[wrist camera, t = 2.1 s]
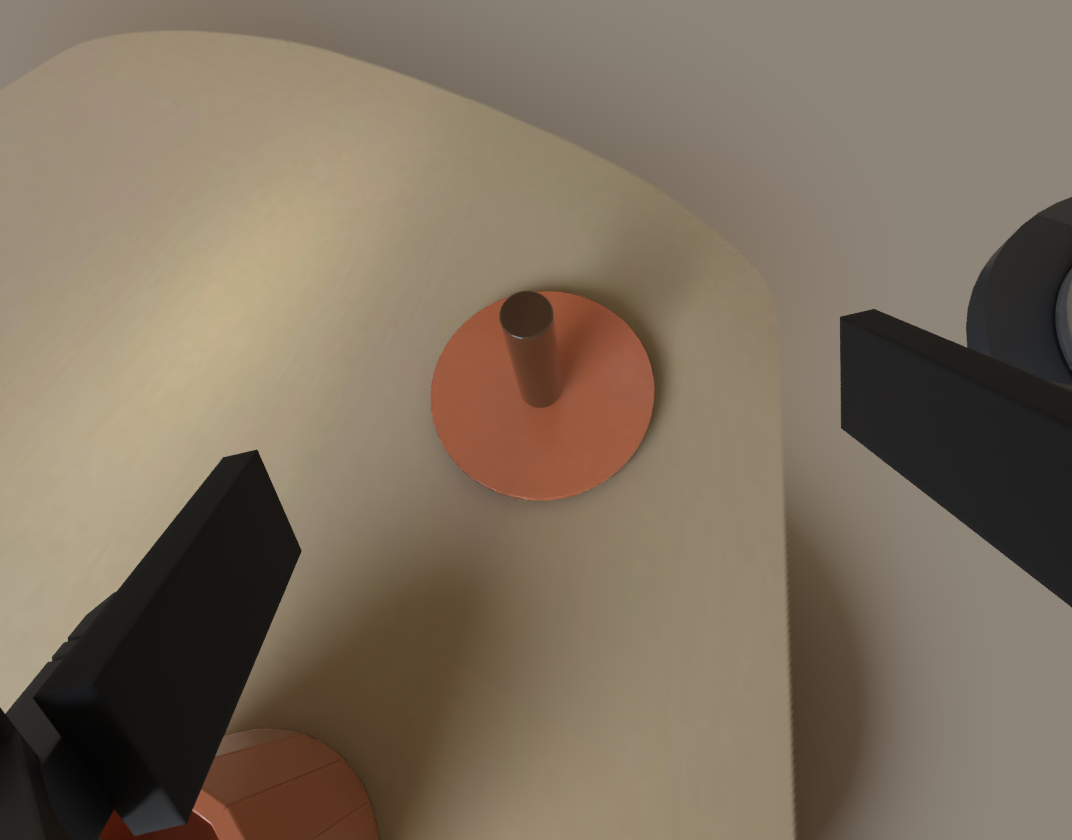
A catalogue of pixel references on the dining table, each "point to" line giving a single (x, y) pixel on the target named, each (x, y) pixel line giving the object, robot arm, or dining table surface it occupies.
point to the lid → (542, 395)
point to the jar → (271, 794)
